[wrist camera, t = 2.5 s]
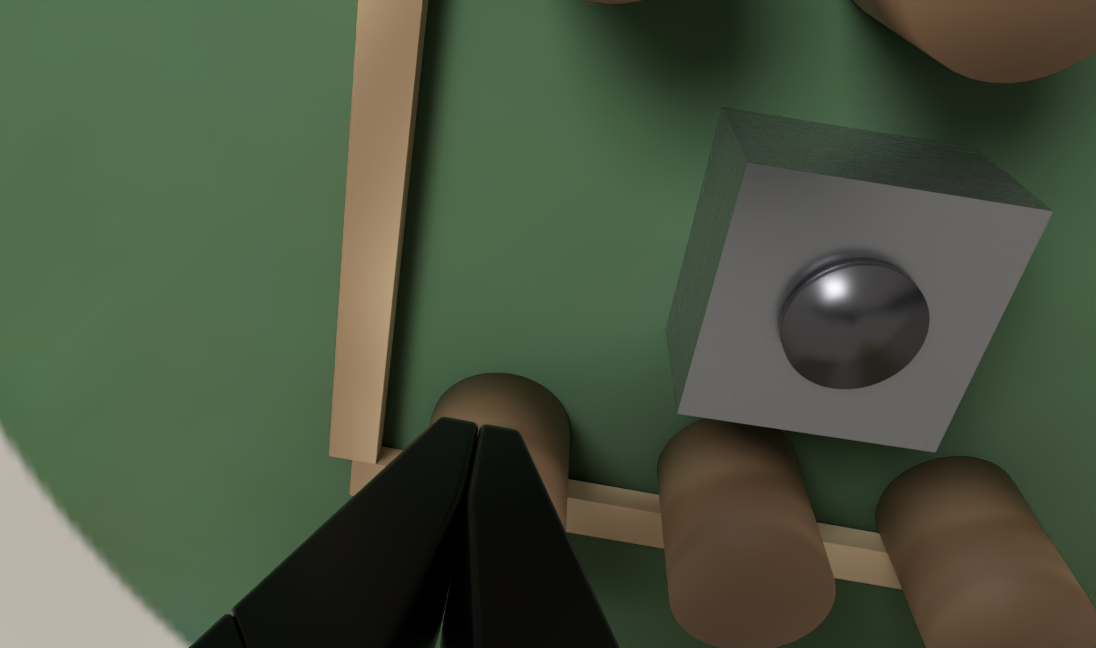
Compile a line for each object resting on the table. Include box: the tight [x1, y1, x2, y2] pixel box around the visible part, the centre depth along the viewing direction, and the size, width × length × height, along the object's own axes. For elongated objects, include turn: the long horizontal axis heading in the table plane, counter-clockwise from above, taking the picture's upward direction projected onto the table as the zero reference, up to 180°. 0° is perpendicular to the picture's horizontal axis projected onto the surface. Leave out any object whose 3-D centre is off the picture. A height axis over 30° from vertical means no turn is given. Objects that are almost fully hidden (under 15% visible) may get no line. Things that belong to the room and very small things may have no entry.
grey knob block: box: [666, 107, 1053, 452], centre depth 14 cm, size 4×4×3 cm
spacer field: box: [329, 0, 1096, 648], centre depth 14 cm, size 16×15×4 cm
